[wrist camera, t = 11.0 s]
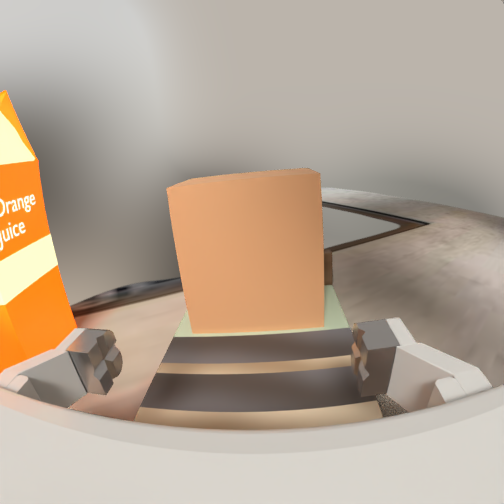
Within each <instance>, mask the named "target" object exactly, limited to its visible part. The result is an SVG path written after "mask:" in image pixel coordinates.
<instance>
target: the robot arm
mask: <svg viewBox="0 0 504 504" xmlns="http://www.w3.org/2000/svg"><path fill="white" fill-rule="evenodd" d="M502 1H503V3H504V0H502ZM352 335H353V338H354V341H355V342H354V344H353V345H352V346H351V365H352V370H353V373H354V374H355V375H356V376H357V382H356V383H357V386H358V390H359V393H360V396H361V397H365V396H373V395H380V394H387V395H388V396H389V397H390V398H391V399H393V400H394V401H395V402H396V403H398V404H399V405H400V406H401V407H403V408H404V409H405V410H406V411H408V412H409V413H404V414H400V415H395V416H389V417H384V418H379V419H373V420H367V421H360V422H353V423H346V424H338V425H329V426H319V427H307V428H292V429H269V430H226V429H202V428H187V427H175V426H165V425H156V424H148V423H141V422H134V421H127V420H121V419H115V418H110V417H105V416H99V415H95V414H90V413H85V412H81V411H77V410H72V409H68V407H69V406H71V405H72V404H73V403H75V402H76V401H78V400H79V399H80V398H82V397H83V396H85V395H86V394H87V393H93V394H100V395H107V393H108V391H109V390H110V388H111V387H112V385H113V380H112V379H113V378H115V377H117V376H118V375H119V374H120V372H121V370H122V364H123V362H122V356H121V353H120V351H119V350H118V349H117V348H116V347H115V343H116V339H115V336H114V333H113V332H112V331H110V330H101V329H88V328H75V329H74V330H73V331H72V332H71V333H70V334H69V335H68V336H67V337H66V338H65V339H64V340H63V341H62V342H61V343H60V344H59V345H58V346H57V347H56V348H55V349H51V350H48V351H46V352H44V353H41V354H39V355H37V356H34V357H32V358H30V359H28V360H25V361H23V362H21V363H18V364H16V365H14V366H11V367H9V368H7V369H5V370H4V371H3V372H2V373H1V374H0V504H504V384H503V385H500V386H498V387H495V388H493V387H492V385H491V384H490V382H489V381H488V380H487V378H486V377H485V376H484V374H483V373H482V372H481V370H480V369H479V368H478V367H476V366H473V365H471V364H469V363H466V362H464V361H462V360H460V359H457V358H455V357H453V356H450V355H448V354H446V353H444V352H441V351H439V350H437V349H435V348H432V347H430V346H428V345H426V344H423V343H416V341H415V340H414V338H413V337H412V335H411V334H410V332H409V331H408V329H407V328H406V326H405V325H404V323H403V322H402V320H401V319H400V318H399V317H394V318H388V319H382V320H375V321H368V322H361V323H354V326H353V332H352Z"/></svg>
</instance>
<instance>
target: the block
mask: <svg viewBox="0 0 504 504" xmlns="http://www.w3.org/2000/svg"><path fill="white" fill-rule="evenodd" d="M167 195H168V202H169V209H170V215H171V222H172V228H173V235H174V241H175V246H176V253H177V258H178V263H179V269H180V275H181V280H182V285H183V290H184V296H185V300H186V305H187V310H188V315H189V320H190V324H191V329H192V333H193V334H206V333H239V332H261V331H278V330H293V329H306V328H318V327H324V245H323V217H322V197H321V180H320V173H318V172H316V171H313V170H311V169H309V168H299V169H284V170H271V171H260V172H248V173H238V174H228V175H219V176H210V177H202V178H194V179H190V180H187V181H184V182H182V183H179V184H176V185H173V186H171V187H168V188H167Z"/></svg>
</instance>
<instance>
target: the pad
mask: <svg viewBox="0 0 504 504" xmlns="http://www.w3.org/2000/svg"><path fill="white" fill-rule="evenodd" d="M340 328H349V325H348V322H347V320H346V317H345V315H344V312H343V310H342V308H341V305H340V303H339V300H338V298H337V295H336V293H335V291H334V288H333V286H332V285H324V327H318V328H306V329H293V330H278V331H261V332H239V333H206V334H193V333H192V329H191V324H190V320H189V315H188V310H187V311H186V313H185V315H184V317H183V319H182V321H181V323H180V325H179V327H178V329H177V331H176V333H175V335H174V337H211V336H243V335H264V334H281V333H295V332H308V331H319V330H330V329H340Z"/></svg>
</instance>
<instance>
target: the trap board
mask: <svg viewBox="0 0 504 504" xmlns="http://www.w3.org/2000/svg"><path fill="white" fill-rule="evenodd" d="M324 285H332V252H331V250H330V249H325V250H324ZM354 342H355V341H354V338H353V335H352V332H351V329H350V327H349V328H340V329H330V330H319V331H308V332H295V333H281V334H264V335H243V336H211V337H173V339H172V341H171V343H170V345H169V347H168V350H167V352H166V354H165V356H164V358H163V360H162V362H161V364H160V366H159V368H158V370H157V372H156V374H155V376H154V378H153V380H152V383H151V385H150V387H149V389H148V391H147V393H146V395H145V397H144V399H143V402H142V404H141V406H140V408H139V410H138V412H137V414H136V416H135V419H134V422H141V423H148V424H156V425H165V426H175V427H187V428H202V429H226V430H269V429H292V428H307V427H319V426H329V425H338V424H346V423H353V422H360V421H367V420H373V419H379V418H383V416H382V413H381V410H380V407H379V404H378V401H377V399H376V396H375V395H373V396H365V397H361V396H360V393H359V390H358V386H357V383H356V382H357V376H356V375H355V374H354V373H353V370H352V365H351V346H352V345H353V344H354Z"/></svg>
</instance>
